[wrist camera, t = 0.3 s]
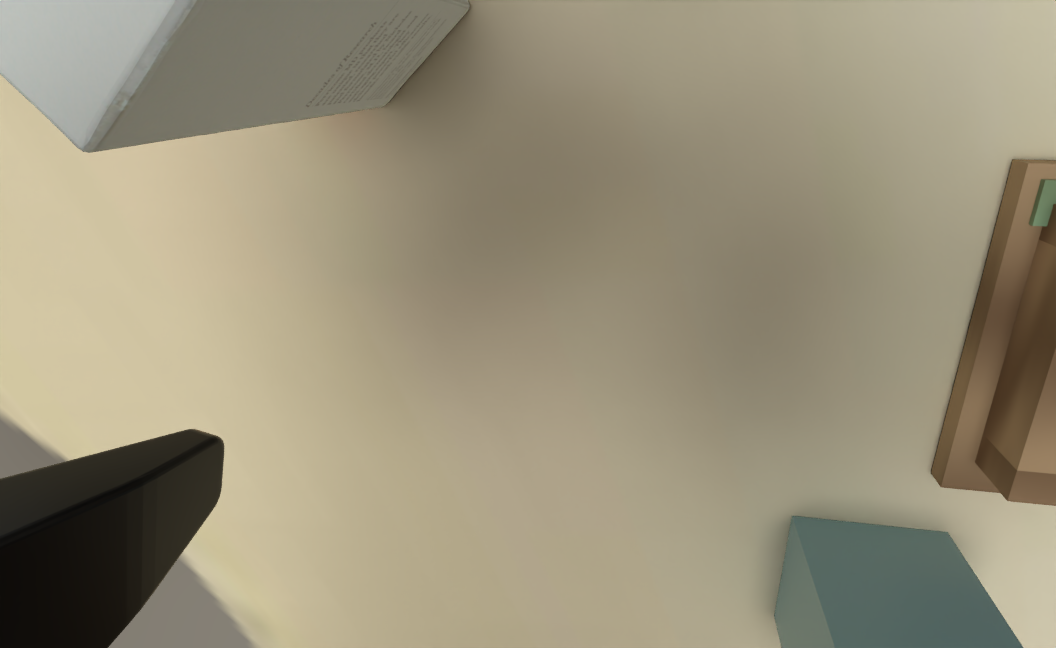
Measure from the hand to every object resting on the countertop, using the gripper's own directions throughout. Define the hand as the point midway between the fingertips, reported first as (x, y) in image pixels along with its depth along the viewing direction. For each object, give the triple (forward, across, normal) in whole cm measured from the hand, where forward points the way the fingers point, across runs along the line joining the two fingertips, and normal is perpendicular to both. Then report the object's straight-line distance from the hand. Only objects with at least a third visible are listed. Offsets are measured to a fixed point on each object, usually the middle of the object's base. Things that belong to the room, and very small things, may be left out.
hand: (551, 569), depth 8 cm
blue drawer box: (+14, -11, +8) cm, 20 cm away
